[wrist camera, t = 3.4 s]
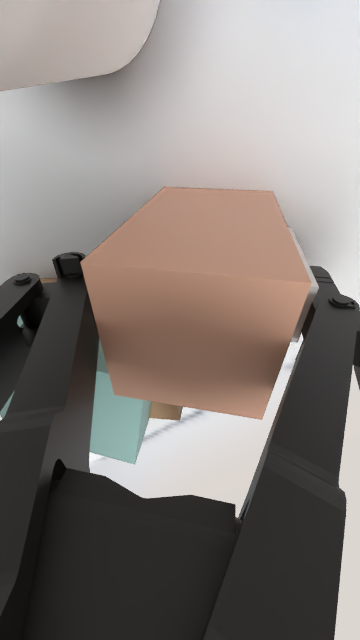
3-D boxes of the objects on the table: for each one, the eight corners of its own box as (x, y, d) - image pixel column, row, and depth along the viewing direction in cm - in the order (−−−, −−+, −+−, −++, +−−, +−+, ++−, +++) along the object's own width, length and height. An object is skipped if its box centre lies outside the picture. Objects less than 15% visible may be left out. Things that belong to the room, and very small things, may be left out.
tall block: (167, 279, 18) (114, 394, 11) (164, 186, 15) (80, 262, 7) (253, 287, 18) (261, 419, 10) (272, 191, 14) (311, 283, 6)
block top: (37, 390, 25) (8, 429, 21) (7, 296, 18) (-43, 334, 15) (148, 420, 24) (134, 464, 21) (162, 335, 17) (145, 383, 14)
